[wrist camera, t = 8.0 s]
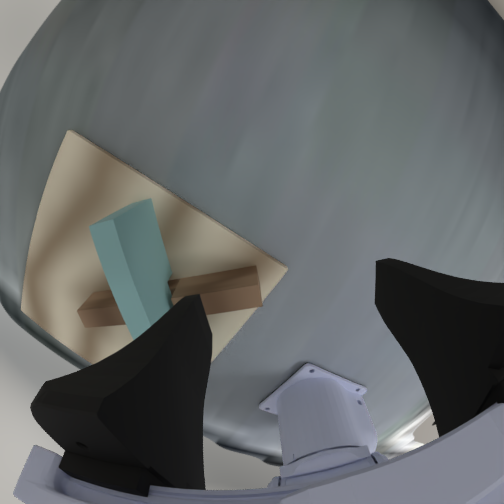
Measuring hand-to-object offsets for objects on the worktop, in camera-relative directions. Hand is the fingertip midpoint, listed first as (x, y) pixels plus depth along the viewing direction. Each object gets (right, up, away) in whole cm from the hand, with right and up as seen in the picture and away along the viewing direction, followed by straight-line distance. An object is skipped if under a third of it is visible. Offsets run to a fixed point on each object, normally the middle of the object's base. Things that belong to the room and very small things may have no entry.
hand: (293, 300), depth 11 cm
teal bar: (-8, -1, +10) cm, 13 cm away
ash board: (-13, -2, +10) cm, 17 cm away
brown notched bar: (-8, -1, +10) cm, 13 cm away
